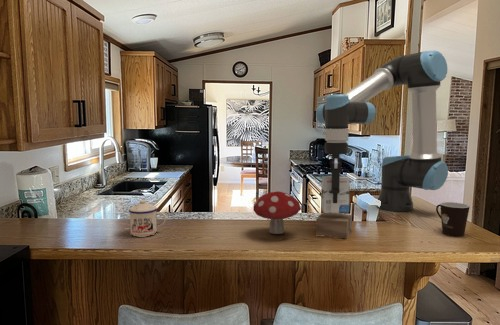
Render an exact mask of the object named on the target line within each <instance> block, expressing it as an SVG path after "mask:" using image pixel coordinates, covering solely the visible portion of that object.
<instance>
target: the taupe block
mask: <svg viewBox="0 0 500 325" xmlns="http://www.w3.org/2000/svg"><path fill="white" fill-rule="evenodd" d="M315 222H316V223H315V225H316V226H315V236H316V235H324V236H331V237H337V238H336V239H339V238H345V239H344V240H348V238H349V236H350V235H351V233H352V232H353V231H352V230H353V228H352V227H353V215H352V214H350V213H349V214H347V213H324V212H323V211H322V213H321V214H320V215H318V217H317V218H316V219H315ZM349 234H350V235H349ZM331 237H330V238H331ZM347 237H348V238H347Z"/></svg>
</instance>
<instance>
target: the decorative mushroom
mask: <svg viewBox="0 0 500 325" xmlns="http://www.w3.org/2000/svg"><path fill="white" fill-rule="evenodd" d="M300 210H302V207H301V204H300V201H298V200H297V199H296V198H295V197H293V196H292V195H291V194H289V193H286V192H283V191H277V190H276V191H271V192H267V193H265V194H263V195H262V196H260V197H259V198H258V199H257V200H256V201H255V202H253V212H254V213H255V215H257V216H258V217H261V218H264V219H267V220H270V221H269V233H271V234H273V235H281V234H283V233H285V223H284V219H285V220H286V219H289V218H292V217H293V216H296V215H298V213H299V212H300Z"/></svg>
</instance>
